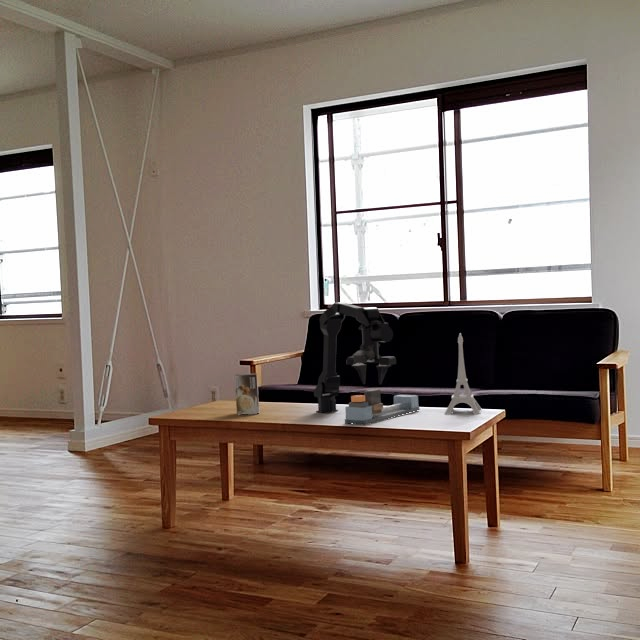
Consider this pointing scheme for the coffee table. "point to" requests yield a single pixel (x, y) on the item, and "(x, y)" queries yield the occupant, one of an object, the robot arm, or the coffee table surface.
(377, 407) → the carriage
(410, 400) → the rail
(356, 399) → the button
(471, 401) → the eiffel tower
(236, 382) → the coffee box
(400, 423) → the coffee table surface
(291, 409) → the coffee table surface
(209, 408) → the coffee table surface
